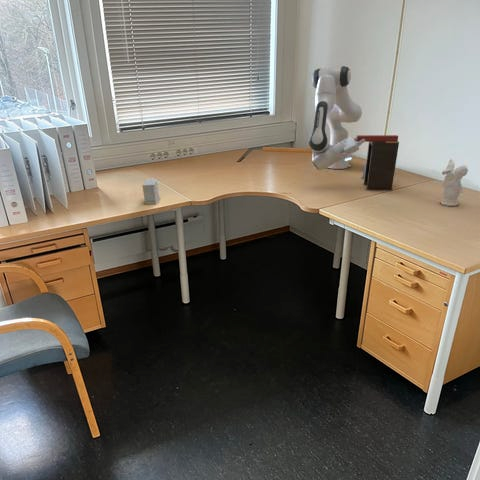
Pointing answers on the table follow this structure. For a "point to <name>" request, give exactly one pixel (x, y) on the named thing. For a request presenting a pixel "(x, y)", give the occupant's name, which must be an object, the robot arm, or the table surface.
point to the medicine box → (364, 171)
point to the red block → (378, 138)
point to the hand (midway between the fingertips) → (363, 138)
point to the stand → (380, 165)
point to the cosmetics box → (151, 191)
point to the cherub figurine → (452, 183)
